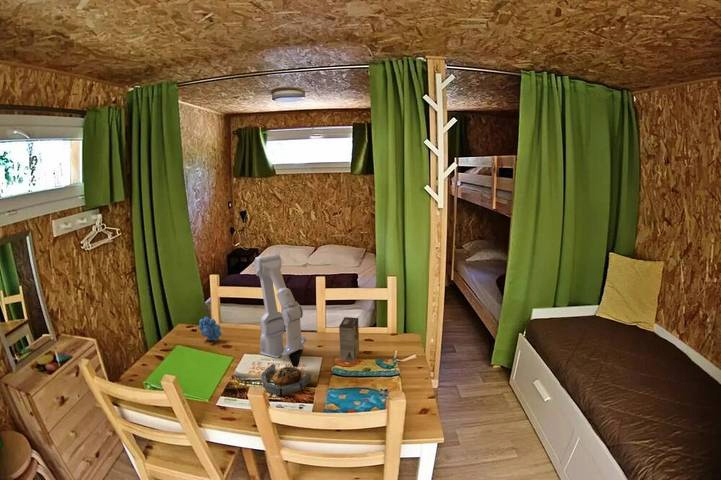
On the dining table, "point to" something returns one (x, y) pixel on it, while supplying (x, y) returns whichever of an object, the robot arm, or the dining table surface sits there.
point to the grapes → (209, 328)
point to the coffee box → (349, 339)
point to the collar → (285, 389)
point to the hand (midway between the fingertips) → (295, 365)
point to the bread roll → (287, 376)
